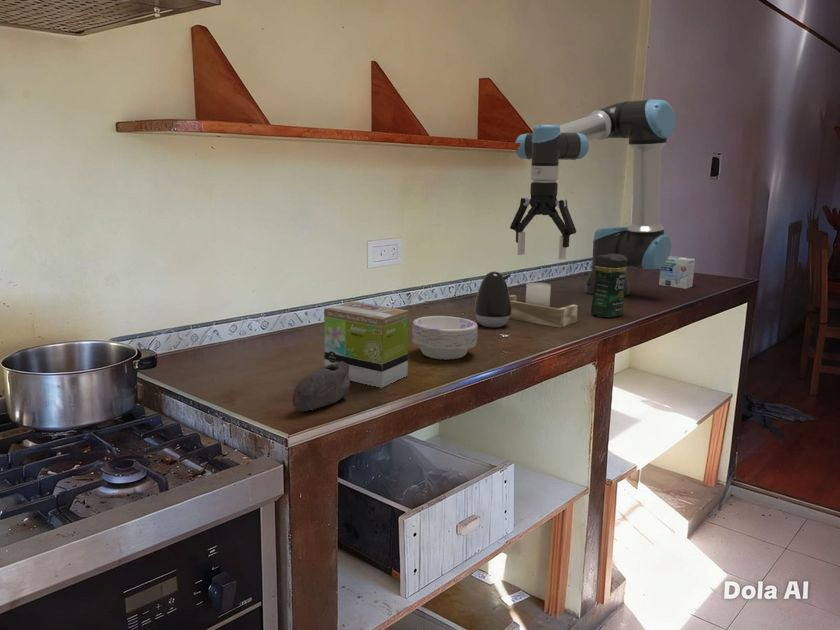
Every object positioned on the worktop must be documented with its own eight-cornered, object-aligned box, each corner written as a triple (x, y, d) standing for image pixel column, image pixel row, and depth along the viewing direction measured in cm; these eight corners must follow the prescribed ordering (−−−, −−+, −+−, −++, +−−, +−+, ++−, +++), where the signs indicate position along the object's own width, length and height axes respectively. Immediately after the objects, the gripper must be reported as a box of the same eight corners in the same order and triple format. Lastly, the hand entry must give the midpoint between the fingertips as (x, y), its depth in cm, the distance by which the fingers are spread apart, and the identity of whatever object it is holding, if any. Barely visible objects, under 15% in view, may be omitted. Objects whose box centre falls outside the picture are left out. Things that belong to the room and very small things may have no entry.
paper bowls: (489, 355, 165) (491, 322, 163) (444, 367, 155) (445, 332, 153) (443, 343, 176) (444, 312, 174) (398, 353, 165) (398, 320, 164)
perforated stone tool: (304, 420, 122) (303, 382, 120) (282, 413, 125) (281, 376, 123) (358, 397, 134) (358, 362, 133) (337, 392, 137) (337, 358, 136)
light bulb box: (658, 285, 266) (660, 257, 264) (665, 283, 271) (667, 255, 269) (686, 289, 260) (689, 260, 257) (692, 286, 265) (695, 258, 262)
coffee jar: (608, 319, 206) (613, 256, 202) (586, 314, 211) (590, 253, 207) (627, 315, 212) (632, 254, 208) (605, 311, 218) (610, 251, 214)
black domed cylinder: (518, 327, 194) (521, 273, 190) (487, 331, 189) (489, 275, 185) (497, 320, 202) (499, 267, 199) (466, 323, 197) (468, 270, 194)
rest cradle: (511, 310, 215) (512, 294, 214) (576, 322, 201) (577, 305, 200) (494, 315, 208) (494, 299, 207) (560, 327, 194) (561, 310, 193)
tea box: (322, 376, 147) (322, 307, 144) (351, 365, 155) (351, 299, 152) (382, 389, 139) (382, 316, 136) (409, 377, 147) (410, 308, 144)
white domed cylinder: (532, 314, 210) (534, 281, 208) (553, 318, 206) (555, 284, 204) (520, 318, 205) (521, 284, 203) (541, 322, 201) (542, 287, 199)
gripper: (499, 180, 202) (497, 253, 207) (577, 183, 186) (573, 262, 191) (513, 180, 208) (511, 251, 213) (591, 182, 192) (586, 259, 197)
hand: (541, 256), depth 202 cm, fingers open, 13 cm apart
